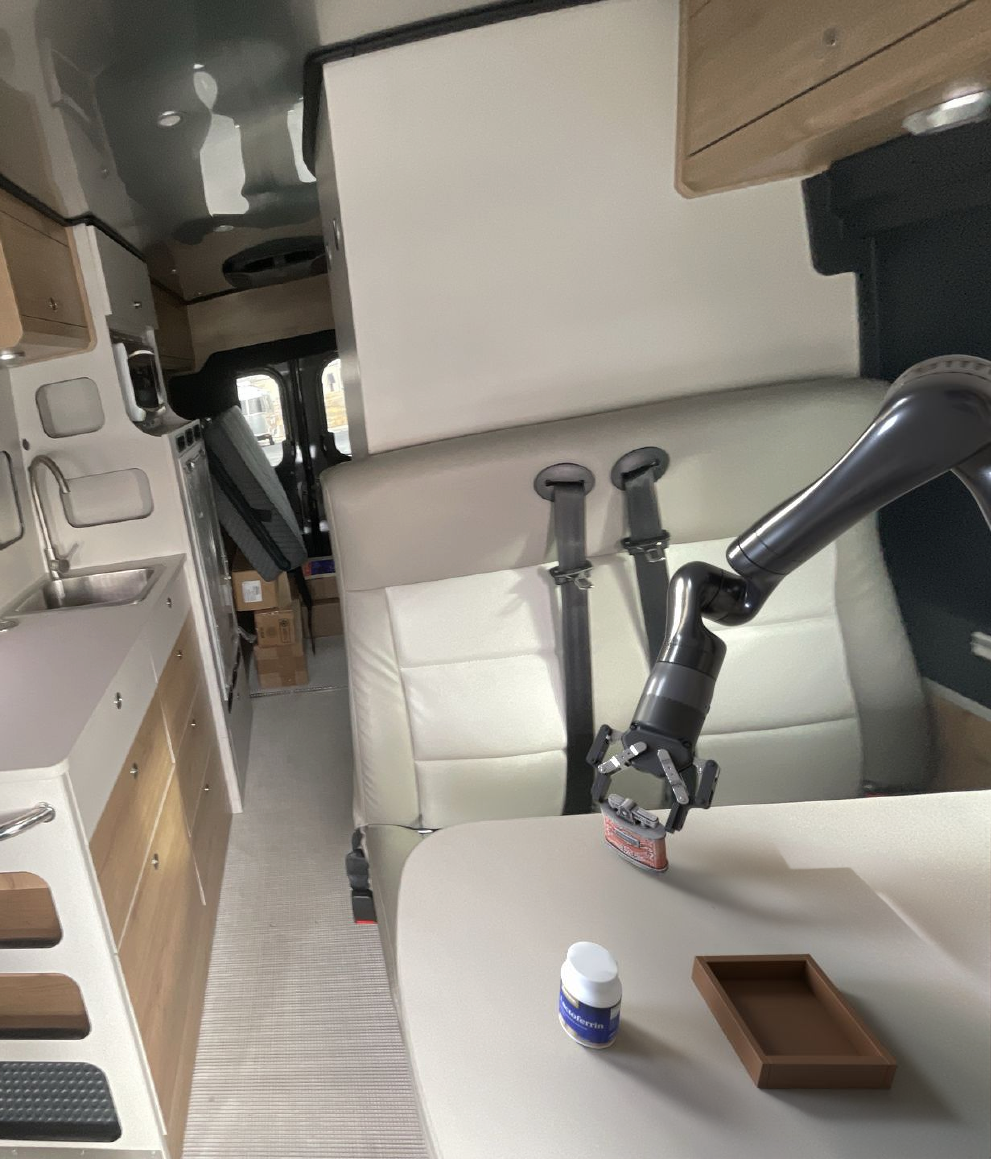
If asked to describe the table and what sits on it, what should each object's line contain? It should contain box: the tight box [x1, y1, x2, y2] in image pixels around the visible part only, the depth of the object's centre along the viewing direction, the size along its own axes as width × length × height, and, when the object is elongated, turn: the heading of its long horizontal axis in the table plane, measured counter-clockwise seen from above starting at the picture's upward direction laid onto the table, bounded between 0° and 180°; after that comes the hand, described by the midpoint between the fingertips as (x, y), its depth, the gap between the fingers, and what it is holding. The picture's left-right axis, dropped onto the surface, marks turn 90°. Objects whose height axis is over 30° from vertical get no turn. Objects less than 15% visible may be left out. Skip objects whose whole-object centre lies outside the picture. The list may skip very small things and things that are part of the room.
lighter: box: [599, 793, 670, 875], centre depth 88 cm, size 8×3×10 cm, turn 30°
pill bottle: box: [558, 941, 623, 1050], centre depth 71 cm, size 6×6×10 cm
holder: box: [690, 953, 899, 1090], centre depth 69 cm, size 12×12×4 cm
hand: (632, 816), depth 87 cm, fingers closed on lighter, 8 cm apart
